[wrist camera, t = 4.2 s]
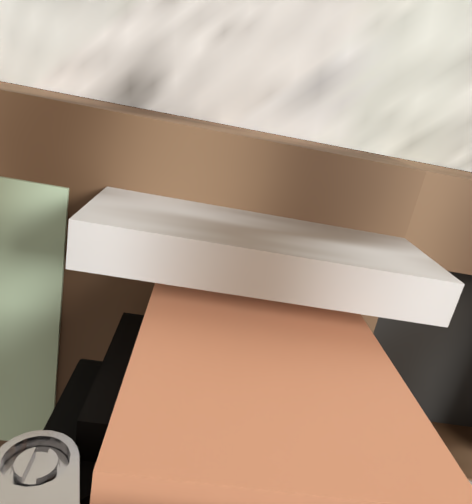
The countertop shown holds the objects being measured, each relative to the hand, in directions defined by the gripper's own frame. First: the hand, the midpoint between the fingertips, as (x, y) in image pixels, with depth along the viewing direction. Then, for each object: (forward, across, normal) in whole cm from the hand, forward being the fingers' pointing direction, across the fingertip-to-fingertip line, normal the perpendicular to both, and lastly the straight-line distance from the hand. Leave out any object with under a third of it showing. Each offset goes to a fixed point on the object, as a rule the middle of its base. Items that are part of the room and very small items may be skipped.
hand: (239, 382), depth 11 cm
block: (0, 0, 0) cm, 0 cm away
